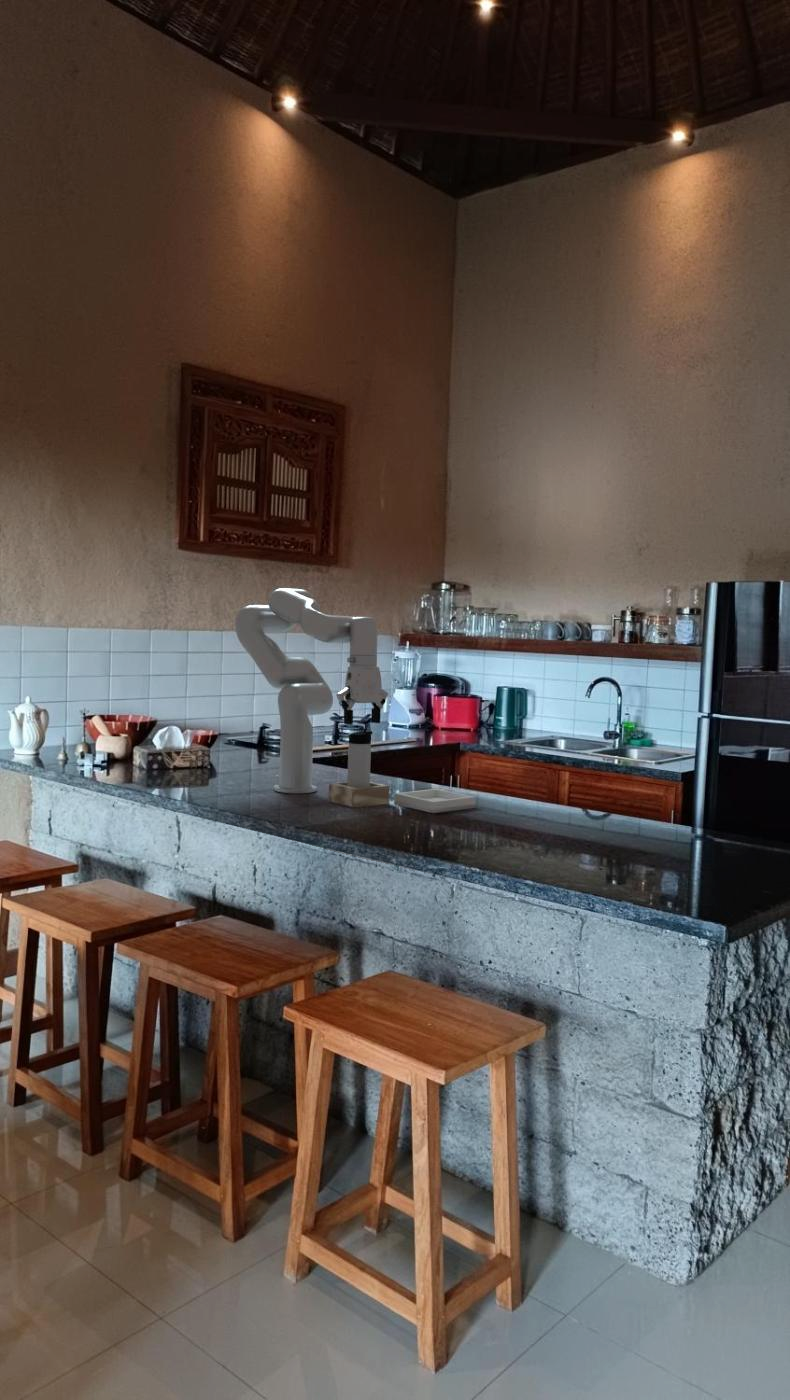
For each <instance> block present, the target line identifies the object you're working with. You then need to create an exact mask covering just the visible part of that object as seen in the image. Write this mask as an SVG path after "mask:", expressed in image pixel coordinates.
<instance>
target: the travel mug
mask: <svg viewBox="0 0 790 1400" xmlns="http://www.w3.org/2000/svg"><path fill="white" fill-rule="evenodd" d="M373 734H374V733H373V730H372V731H371V730H369V731H360V732H359V731H358V732H352V733H350V734H349V735H348V749H347V750H348V751H347V752H348V753H347V758H348V759H347V780H346V782H347V786H349V787H354V788H363V787H370V782H371V760H372V759H371V758H372V741H371V740H372V737H371V735H373Z"/></svg>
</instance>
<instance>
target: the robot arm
mask: <svg viewBox="0 0 790 1400" xmlns="http://www.w3.org/2000/svg"><path fill="white" fill-rule="evenodd" d="M234 623H235V624H234V625H235V633H236V637H237V638H238V639H237V640H239V644H241V646H242V647H243V648H244V650H245V651H246V652H247V653H248V655H249V656H250V657H251V659H252V660H253V661H254V662H255V664H256V666H257V668H258V669H259V671H260V672H261V674H262V675H263V676H264V678H265V679H266V682H268V684H269V685H270V686H271V687H273V688H274V689H279V690H280V691H279V693H278V696H277V705H278V713H279V723H280V736H279V738H280V742H279V744H280V745H279V746H280V747H279V750H280V751H279V773H278V774H277V775H275V777H274V779H275V780H276V781H278V782H277V783H278V784H275V785H274V786H273V790H274V792H278V793H284V794H310V793H315V792H317V790H318V787H317V786H316V785H314V784H312V783H313V782H312V781H313V753H314V752H313V750H314V749H313V748H314V745H313V743H314V730H313V726H312V723H311V722H312V721H310V718H309V716H315V715H316V716H317V715H324V714H327V713H328V712H329V711H330V710H331V709H332V707H333V703H334V696H333V693H332V690H331V688H330V687H329V685H328V683H327V681H326V680H325V679H324V678H323V676H322V674H320V672H319V670H318V669H317V667H316V666H315V665H314V664H313V662H311V661H310V660H309V659H308V658H305V657H299V656H287V655H286V654H285V653H284V652H283V651H282V650H281V648H280V647H279V645H278V643H277V642H275V641H274V640H273V639H272V638H270V637H269V636H268V635H267V634H283V633H286V632H287V631H290V630H291V629H292V628H294V627H295V626H299V627H300V628H301V630H302V631H303V633H304V634H305V635H307V636H309V637H311V638H313V639H316V640H318V641H321V642H322V643H326V644H327V643H328V644H329V643H330V644H333V643H334V644H335V643H336V644H337V643H338V644H339V643H341V644H349V657H347V659H346V661H347V663H349V666H347V671H346V676H345V683H344V685H345V687H344V689H342V690H340V691H339V692H338V693H337V694H336V698H337V701H338V704H339V705H340V707H341V708H342V710H343V723H344V724H343V725H349V726H350V725H351V726H352V725H353V724H354V710H353V707H354V706H355V705H356V704H371V706H372V708H371V716H370V717H371V720H370V721H371V723H373V724H380V723H381V711H382V709H383V707H384V705H385V703H386V700H387V698H388V696H389V692H387V691H386V690H384V689H383V686H382V683H383V682H382V676H381V669H380V667H379V666H377V664H378V627H379V626H378V620H377V619H376V618H375V617H370V616H356V617H355V616H348V615H347V616H346V615H329V614H325V613H323V612H322V609H321V605H320V604H319V602H318V601H316V600H315V598H314V597H313V595H312V594H311V593H310V592H309V591H308V590H306V589H300V588H288V587H287V588H286V587H284V588H283V587H282V588H277V589H275V590H273V591H272V592H271V593H270V594H269V597H268V599H267V605H266V604H263V605H262V604H253V605H247V606H244V607H242V608H241V609H240V610H239V611H238V613H237V614H236V618H235V622H234Z"/></svg>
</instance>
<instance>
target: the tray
mask: <svg viewBox="0 0 790 1400" xmlns="http://www.w3.org/2000/svg"><path fill="white" fill-rule="evenodd" d="M476 799H477V797H476V796H473V795H468V794H464V793H463V794H462V793H459V792H454V791H449V790H444V789H441V788H430V789H423V790H414V791H412V790H411V791H402V792H395V793H394V796H393V805H397V806H401V807H405V808H408V809H413V810H416V811H417V810H418V811H423V812H427V813H431V814H436V813H437V814H439V813H444V812H454V811H462V810H469V809H475V808H476V801H477V800H476Z"/></svg>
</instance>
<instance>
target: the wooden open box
mask: <svg viewBox="0 0 790 1400" xmlns="http://www.w3.org/2000/svg"><path fill="white" fill-rule="evenodd" d="M328 802H330V803H335V804H339V805H343V806H347V807H352V808H354V807H357V808H362V807H363V806H365V807H371V806H372V807H373V806H380V805H381V806H382V805H389V804H390V785H387V784H384V783H383V784H382V783H377V782H373V781H370V787H363V788H354V787H349V786H347V781H338V782H337V781H336V782H328ZM363 808H364V807H363Z"/></svg>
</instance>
